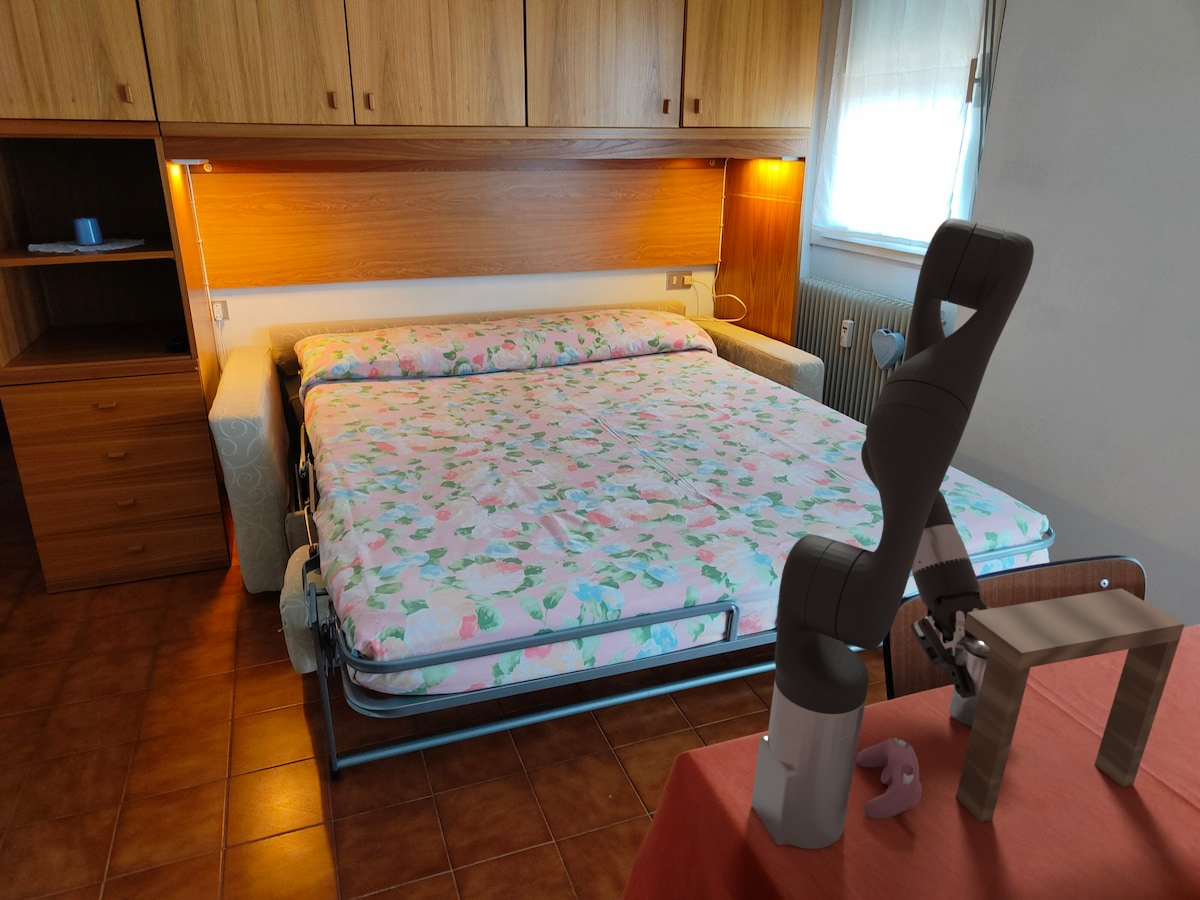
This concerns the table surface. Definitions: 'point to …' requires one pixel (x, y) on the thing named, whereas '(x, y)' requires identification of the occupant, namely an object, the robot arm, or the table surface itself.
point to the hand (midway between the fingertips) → (986, 693)
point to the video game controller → (892, 777)
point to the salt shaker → (975, 665)
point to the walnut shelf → (1059, 637)
